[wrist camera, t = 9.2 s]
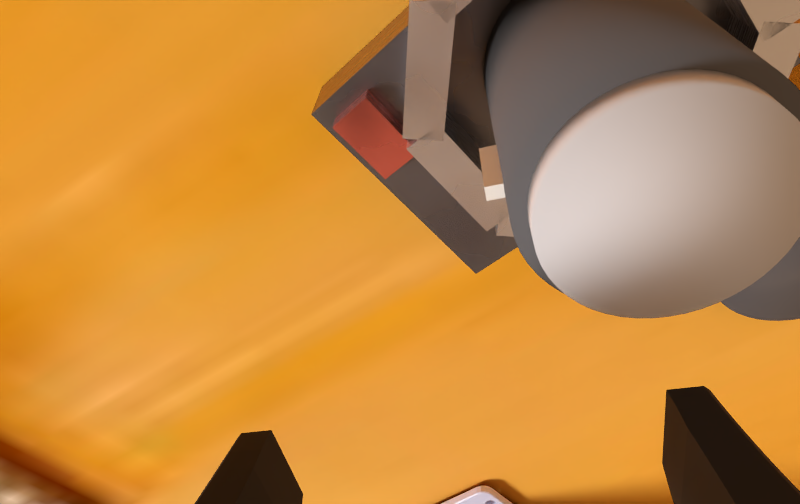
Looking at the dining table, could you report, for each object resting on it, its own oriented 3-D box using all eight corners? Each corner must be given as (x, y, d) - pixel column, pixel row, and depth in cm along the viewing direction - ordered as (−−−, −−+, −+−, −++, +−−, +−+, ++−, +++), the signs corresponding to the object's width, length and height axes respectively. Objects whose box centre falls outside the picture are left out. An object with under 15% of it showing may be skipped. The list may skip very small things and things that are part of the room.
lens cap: (919, 241, 20) (938, 259, 20) (743, 327, 23) (754, 345, 22) (851, 114, 18) (871, 128, 17) (664, 225, 21) (673, 242, 20)
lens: (685, -67, 13) (870, 23, 8) (682, 132, 16) (818, 308, 10) (452, -9, 14) (465, 111, 9) (486, 170, 17) (512, 351, 11)
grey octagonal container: (786, 52, 17) (858, 101, 14) (486, 251, 21) (494, 320, 18) (622, -244, 13) (674, -258, 10) (303, 67, 18) (278, 116, 15)
